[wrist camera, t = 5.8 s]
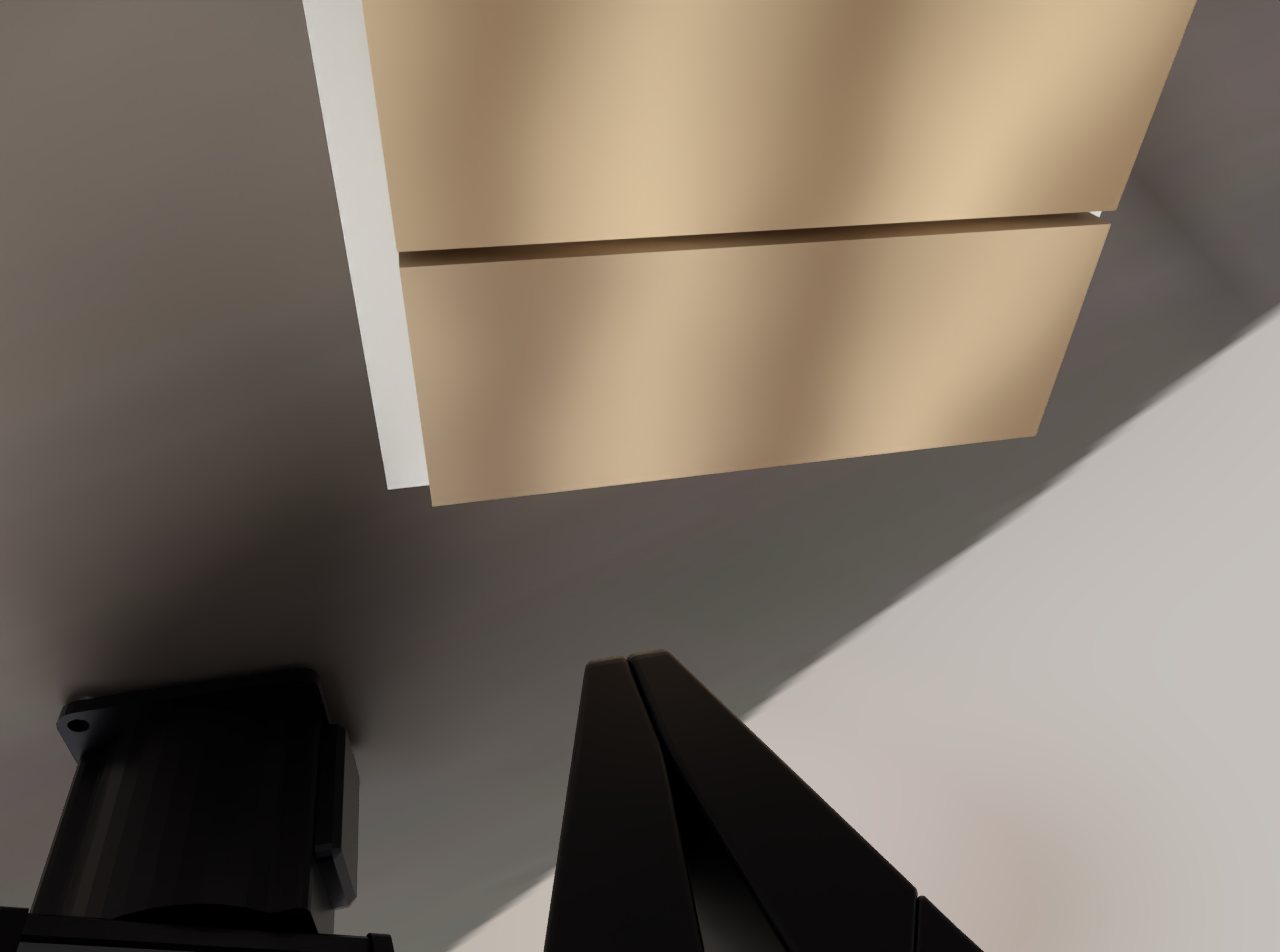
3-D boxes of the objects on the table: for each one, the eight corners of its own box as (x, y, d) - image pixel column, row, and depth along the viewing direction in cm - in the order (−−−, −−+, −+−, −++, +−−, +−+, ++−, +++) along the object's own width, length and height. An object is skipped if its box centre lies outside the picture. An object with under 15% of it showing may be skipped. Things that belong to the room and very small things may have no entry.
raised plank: (395, 220, 17) (396, 252, 16) (342, -167, 13) (339, -163, 12) (1073, 185, 20) (1116, 210, 19) (1185, -136, 16) (1246, -129, 15)
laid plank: (429, 467, 20) (432, 506, 19) (398, 237, 17) (398, 268, 16) (1002, 405, 23) (1035, 435, 22) (1068, 201, 20) (1111, 223, 19)
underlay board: (387, 465, 21) (387, 489, 20) (254, -309, 13) (247, -318, 12) (1009, 399, 25) (1029, 417, 24) (1218, -243, 16) (1260, -247, 16)
